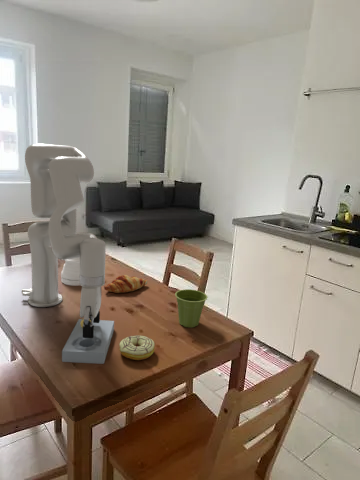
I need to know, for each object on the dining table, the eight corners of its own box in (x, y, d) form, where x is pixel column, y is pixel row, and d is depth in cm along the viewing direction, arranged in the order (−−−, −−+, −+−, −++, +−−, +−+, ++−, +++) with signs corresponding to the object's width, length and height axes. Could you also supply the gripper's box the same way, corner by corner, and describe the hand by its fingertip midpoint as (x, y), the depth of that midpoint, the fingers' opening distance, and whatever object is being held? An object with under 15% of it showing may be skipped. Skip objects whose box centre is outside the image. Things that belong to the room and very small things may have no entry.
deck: (78, 328, 122) (78, 319, 121) (113, 330, 122) (114, 320, 121) (62, 361, 102) (61, 351, 101) (103, 363, 103) (104, 353, 102)
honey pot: (55, 282, 160) (54, 244, 156) (77, 275, 170) (78, 239, 166) (73, 290, 153) (74, 250, 149) (96, 282, 164) (97, 245, 159)
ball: (81, 330, 112) (90, 325, 112) (77, 321, 113) (86, 316, 113) (85, 330, 116) (94, 325, 116) (81, 321, 117) (90, 316, 117)
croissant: (143, 291, 166) (139, 274, 167) (154, 286, 158) (150, 269, 160) (101, 298, 152) (98, 280, 154) (111, 293, 145) (107, 275, 146)
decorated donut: (123, 341, 114) (124, 330, 113) (155, 345, 114) (157, 335, 113) (115, 359, 104) (116, 347, 103) (151, 364, 104) (152, 352, 103)
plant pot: (210, 328, 129) (213, 299, 126) (181, 333, 124) (184, 303, 121) (195, 314, 139) (197, 287, 136) (167, 318, 134) (169, 290, 131)
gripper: (86, 269, 117) (85, 316, 121) (72, 289, 100) (72, 343, 104) (109, 270, 117) (107, 317, 121) (99, 290, 100) (98, 344, 104)
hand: (91, 329), depth 113 cm, fingers open, 9 cm apart
